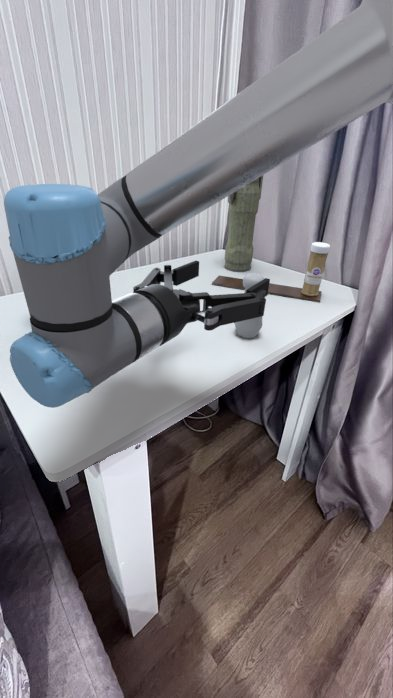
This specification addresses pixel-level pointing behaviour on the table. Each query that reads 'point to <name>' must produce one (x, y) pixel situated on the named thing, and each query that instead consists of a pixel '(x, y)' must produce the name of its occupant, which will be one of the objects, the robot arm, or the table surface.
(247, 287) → the salt shaker
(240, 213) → the thermos
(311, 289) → the sprinkles bottle
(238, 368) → the table surface
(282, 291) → the line strip
